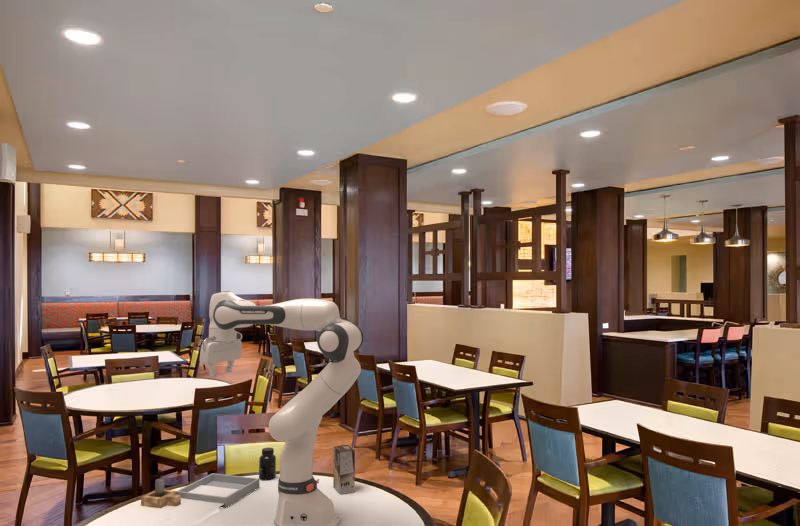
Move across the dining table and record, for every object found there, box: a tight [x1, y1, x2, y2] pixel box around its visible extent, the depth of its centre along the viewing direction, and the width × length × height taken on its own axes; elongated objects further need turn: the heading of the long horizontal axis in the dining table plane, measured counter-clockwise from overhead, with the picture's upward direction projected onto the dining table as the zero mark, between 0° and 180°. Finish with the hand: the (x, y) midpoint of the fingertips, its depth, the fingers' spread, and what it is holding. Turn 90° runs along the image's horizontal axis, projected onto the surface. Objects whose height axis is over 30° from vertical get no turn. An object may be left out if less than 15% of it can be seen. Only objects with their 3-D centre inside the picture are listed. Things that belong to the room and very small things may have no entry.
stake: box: [147, 478, 165, 508], centre depth 199 cm, size 9×9×10 cm
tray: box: [177, 472, 260, 509], centre depth 211 cm, size 22×22×4 cm
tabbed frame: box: [140, 488, 182, 509], centre depth 199 cm, size 13×9×3 cm
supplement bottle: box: [258, 447, 277, 481], centre depth 230 cm, size 7×7×12 cm
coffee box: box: [332, 444, 356, 495], centre depth 217 cm, size 9×6×16 cm
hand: (220, 374), depth 199 cm, fingers open, 8 cm apart
